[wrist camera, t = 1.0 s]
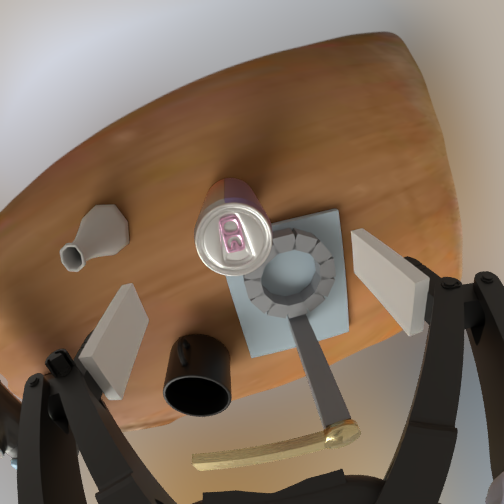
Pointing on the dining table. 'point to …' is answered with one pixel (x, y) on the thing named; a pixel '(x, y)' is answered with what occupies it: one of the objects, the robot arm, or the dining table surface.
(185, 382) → the mug
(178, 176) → the dining table surface
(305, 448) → the lever
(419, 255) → the dining table surface
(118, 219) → the flask
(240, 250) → the beverage can
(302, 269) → the seat board
